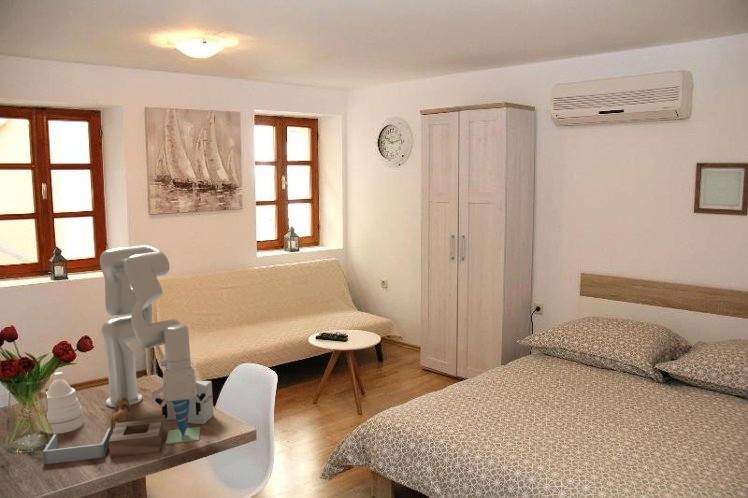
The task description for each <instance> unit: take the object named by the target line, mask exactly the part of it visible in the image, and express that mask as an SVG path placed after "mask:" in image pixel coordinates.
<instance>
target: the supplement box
mask: <svg viewBox="0 0 748 498" xmlns="http://www.w3.org/2000/svg"><path fill="white" fill-rule="evenodd" d="M196 383H199V384H202V385H204V386H207V387H208V391H207V394H206V396H205V397H204V398H203V400H202V401H201V402H200V404H201V411H200V412H199V415H196V401H195V400H194V399H189V413H188V422H187V424H194V425H195V424H196V425H198V424H199V425H205V424H206V423H207V422H208V421H209V420H210V419H211V418H212V417H214V401H213V400H214V399H213V383H212V381H211V380H196ZM202 392H203V390H201V389H198V388H197V394H198V395H199V396H200V395H201V394H202Z"/></svg>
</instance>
